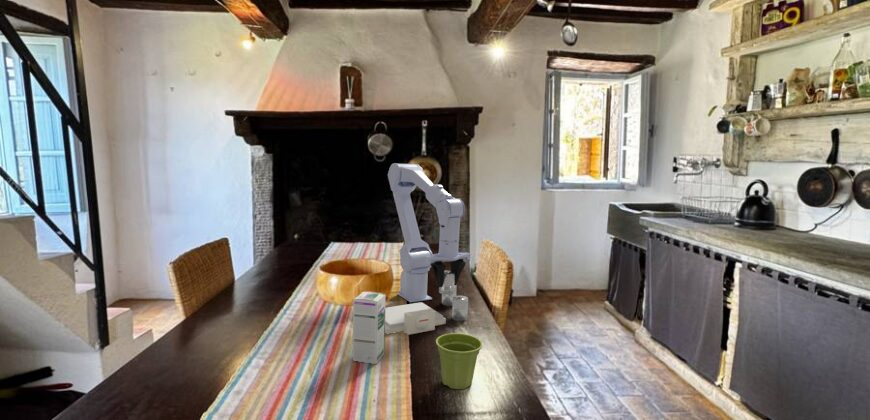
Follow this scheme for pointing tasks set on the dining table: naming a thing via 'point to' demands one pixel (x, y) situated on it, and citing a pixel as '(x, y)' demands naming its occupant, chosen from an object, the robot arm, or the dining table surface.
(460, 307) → the cylinder
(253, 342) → the dining table surface
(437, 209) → the robot arm
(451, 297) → the cylinder
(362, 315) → the syrup box
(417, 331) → the scale
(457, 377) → the plant pot
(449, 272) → the cylinder
